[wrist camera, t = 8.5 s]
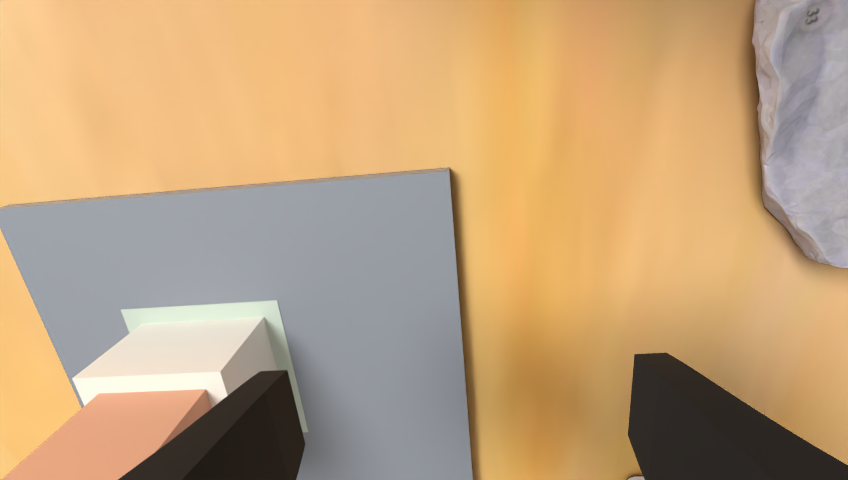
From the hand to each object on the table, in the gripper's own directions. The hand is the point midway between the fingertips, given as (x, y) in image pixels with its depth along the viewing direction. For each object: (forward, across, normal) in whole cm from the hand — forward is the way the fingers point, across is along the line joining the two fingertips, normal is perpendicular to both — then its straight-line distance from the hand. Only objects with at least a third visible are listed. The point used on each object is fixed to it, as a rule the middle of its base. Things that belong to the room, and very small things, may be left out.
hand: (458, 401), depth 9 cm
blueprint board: (+10, +10, +9) cm, 17 cm away
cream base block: (+10, +12, +6) cm, 16 cm away
